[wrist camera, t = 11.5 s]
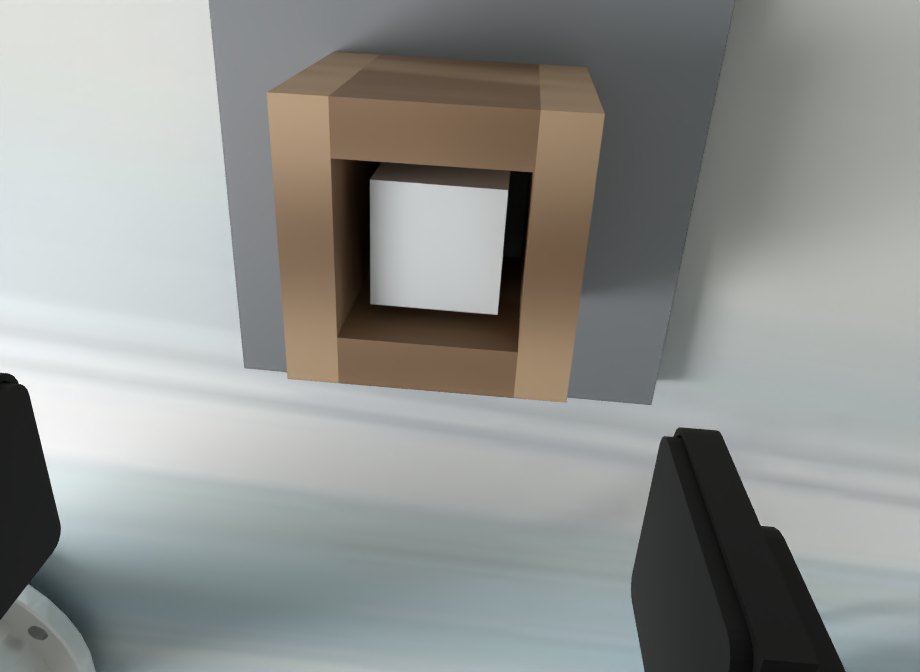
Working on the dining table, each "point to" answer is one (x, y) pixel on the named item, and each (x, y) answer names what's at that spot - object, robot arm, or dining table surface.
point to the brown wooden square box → (440, 144)
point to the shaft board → (549, 32)
